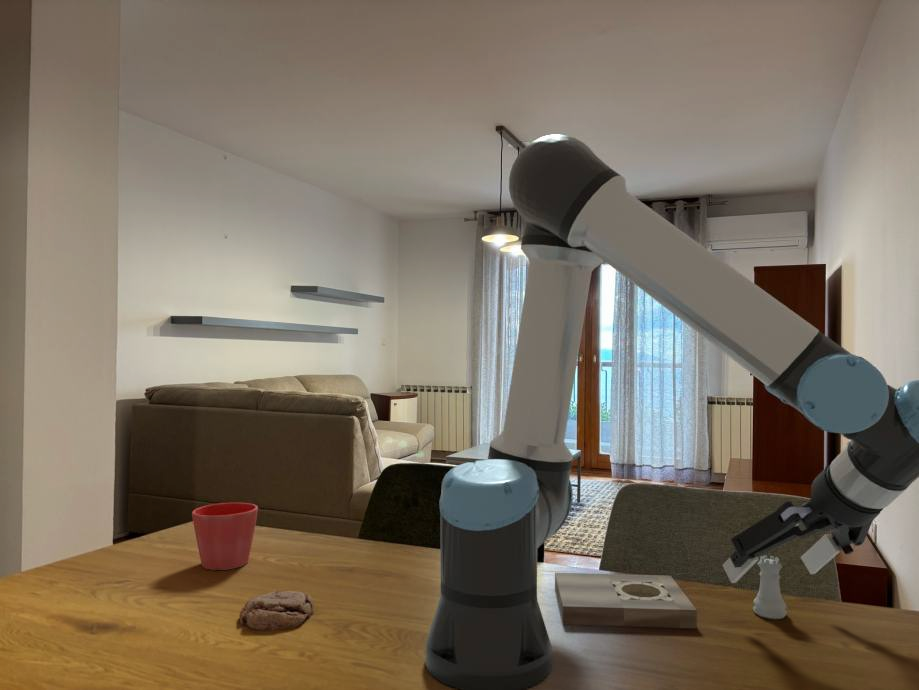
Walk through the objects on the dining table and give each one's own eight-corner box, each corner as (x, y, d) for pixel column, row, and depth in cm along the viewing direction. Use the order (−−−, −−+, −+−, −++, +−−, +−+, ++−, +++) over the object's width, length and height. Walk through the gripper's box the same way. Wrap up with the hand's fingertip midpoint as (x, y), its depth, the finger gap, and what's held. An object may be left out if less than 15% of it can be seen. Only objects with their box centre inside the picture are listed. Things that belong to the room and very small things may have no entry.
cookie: (327, 608, 97) (327, 587, 97) (287, 637, 87) (287, 614, 87) (269, 600, 100) (269, 580, 100) (223, 628, 90) (224, 605, 90)
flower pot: (194, 557, 120) (194, 503, 120) (257, 552, 124) (257, 500, 124) (188, 576, 110) (189, 517, 110) (257, 570, 113) (258, 513, 114)
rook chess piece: (780, 608, 97) (780, 554, 97) (792, 621, 93) (792, 563, 93) (748, 607, 98) (748, 553, 98) (759, 619, 93) (759, 562, 93)
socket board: (696, 628, 90) (696, 610, 90) (562, 624, 91) (563, 606, 91) (670, 591, 104) (670, 575, 104) (554, 588, 105) (554, 572, 105)
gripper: (915, 455, 88) (824, 539, 102) (756, 464, 81) (682, 552, 95) (955, 504, 82) (853, 586, 97) (789, 518, 75) (706, 603, 90)
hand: (768, 569), depth 96 cm, fingers open, 13 cm apart
